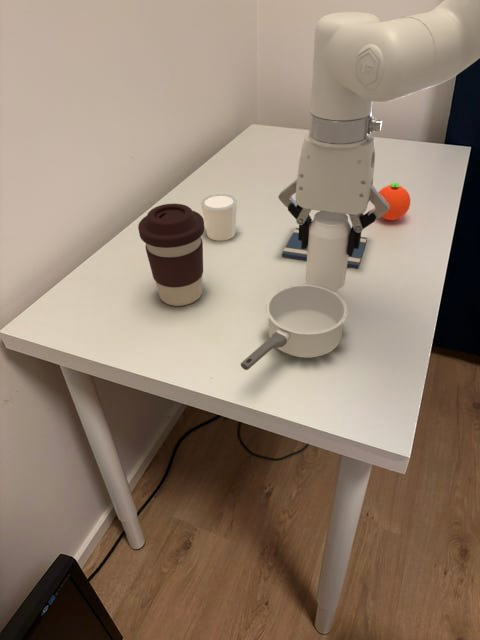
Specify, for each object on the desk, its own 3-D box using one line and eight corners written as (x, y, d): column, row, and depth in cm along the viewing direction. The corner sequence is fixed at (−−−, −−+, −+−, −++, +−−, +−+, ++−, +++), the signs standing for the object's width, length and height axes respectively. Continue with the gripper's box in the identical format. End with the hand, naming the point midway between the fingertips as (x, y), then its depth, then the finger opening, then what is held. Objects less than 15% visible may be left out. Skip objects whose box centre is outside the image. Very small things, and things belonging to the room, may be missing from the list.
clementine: (371, 207, 103) (376, 175, 99) (405, 209, 102) (412, 176, 98) (372, 225, 97) (377, 192, 93) (408, 227, 96) (415, 193, 92)
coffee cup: (220, 299, 80) (214, 217, 70) (165, 319, 76) (150, 236, 67) (195, 271, 87) (186, 193, 77) (143, 288, 83) (127, 208, 74)
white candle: (229, 222, 101) (227, 190, 96) (244, 236, 96) (243, 204, 91) (198, 230, 98) (195, 198, 94) (212, 245, 93) (209, 212, 89)
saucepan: (212, 376, 67) (209, 346, 63) (293, 304, 78) (294, 275, 75) (281, 415, 61) (282, 385, 57) (357, 331, 73) (362, 301, 69)
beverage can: (351, 291, 76) (360, 223, 68) (314, 299, 75) (320, 230, 67) (334, 270, 81) (340, 204, 73) (299, 278, 79) (302, 211, 72)
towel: (366, 241, 93) (367, 237, 92) (358, 268, 85) (358, 264, 85) (295, 231, 97) (295, 227, 96) (281, 257, 89) (281, 252, 89)
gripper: (411, 122, 62) (389, 244, 74) (282, 113, 67) (280, 228, 79) (406, 142, 57) (383, 270, 68) (266, 131, 62) (266, 252, 73)
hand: (328, 247), depth 73 cm, fingers closed on beverage can, 6 cm apart
